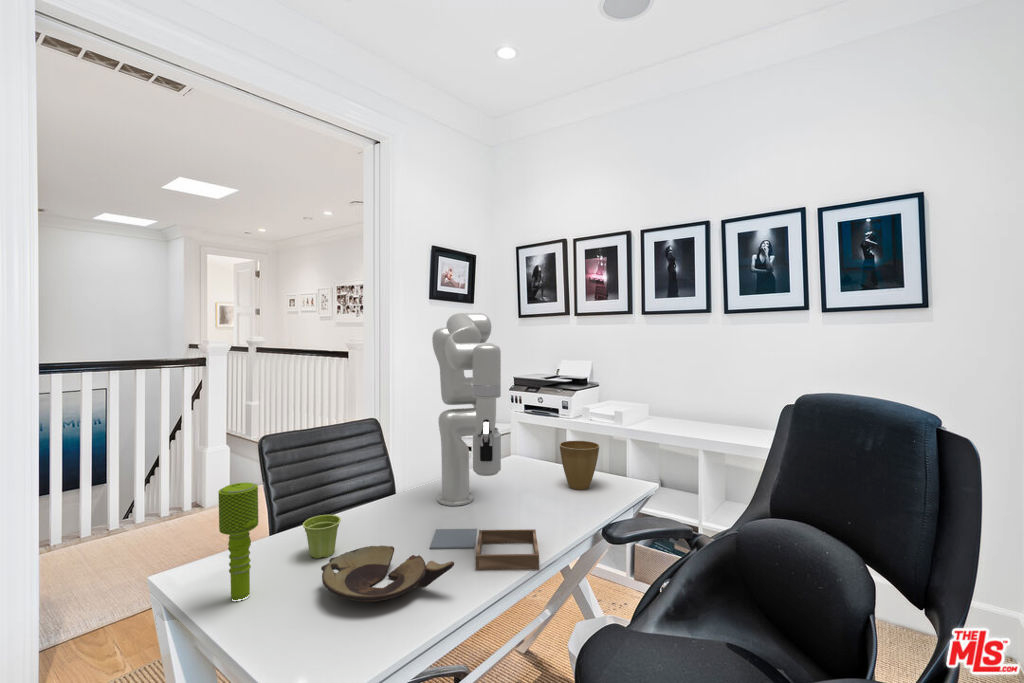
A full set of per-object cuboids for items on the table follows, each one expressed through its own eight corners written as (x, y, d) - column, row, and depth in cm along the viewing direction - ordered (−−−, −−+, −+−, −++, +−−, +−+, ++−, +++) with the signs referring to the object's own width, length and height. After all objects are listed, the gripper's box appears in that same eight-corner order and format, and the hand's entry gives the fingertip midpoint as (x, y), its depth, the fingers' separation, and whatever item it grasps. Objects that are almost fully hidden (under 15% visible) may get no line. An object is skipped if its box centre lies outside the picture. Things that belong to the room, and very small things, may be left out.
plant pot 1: (348, 548, 132) (348, 517, 132) (324, 564, 123) (324, 530, 123) (320, 543, 135) (320, 512, 135) (295, 559, 126) (294, 525, 126)
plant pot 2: (602, 493, 175) (602, 449, 175) (561, 493, 175) (561, 449, 175) (596, 480, 190) (596, 439, 190) (557, 480, 190) (557, 440, 190)
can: (497, 477, 126) (497, 432, 126) (469, 476, 128) (469, 430, 127) (503, 469, 134) (503, 425, 133) (476, 467, 135) (476, 424, 135)
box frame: (479, 542, 135) (479, 529, 135) (535, 541, 135) (535, 529, 135) (475, 570, 119) (475, 556, 119) (539, 569, 120) (539, 555, 120)
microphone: (212, 603, 106) (209, 489, 105) (242, 585, 113) (240, 478, 112) (239, 610, 103) (237, 493, 102) (269, 592, 110) (267, 482, 109)
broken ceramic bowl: (374, 556, 127) (373, 527, 127) (466, 586, 112) (466, 554, 112) (297, 596, 108) (297, 562, 108) (397, 640, 93) (396, 600, 93)
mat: (436, 530, 143) (436, 529, 143) (476, 530, 143) (476, 528, 143) (429, 549, 131) (429, 547, 131) (474, 548, 131) (474, 546, 131)
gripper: (474, 386, 138) (474, 448, 139) (470, 396, 121) (470, 466, 122) (500, 386, 139) (500, 448, 139) (500, 396, 121) (500, 466, 122)
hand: (486, 456), depth 131 cm, fingers closed on can, 7 cm apart
